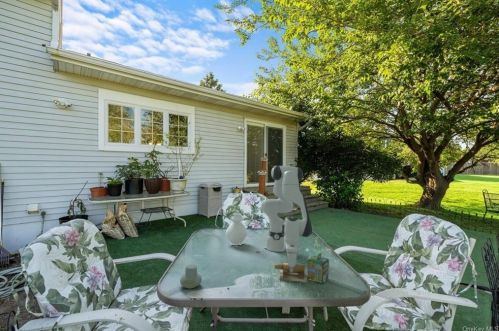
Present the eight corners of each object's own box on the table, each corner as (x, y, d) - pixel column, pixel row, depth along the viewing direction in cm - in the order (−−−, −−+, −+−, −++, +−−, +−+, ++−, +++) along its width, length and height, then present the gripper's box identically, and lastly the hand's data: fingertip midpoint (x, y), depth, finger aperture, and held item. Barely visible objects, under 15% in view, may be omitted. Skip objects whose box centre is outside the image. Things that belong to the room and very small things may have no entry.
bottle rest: (279, 272, 149) (280, 264, 149) (305, 274, 147) (305, 265, 147) (279, 280, 138) (279, 271, 138) (307, 282, 136) (307, 273, 136)
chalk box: (313, 274, 147) (314, 249, 147) (329, 279, 141) (329, 252, 142) (306, 279, 140) (307, 253, 140) (322, 284, 134) (322, 257, 134)
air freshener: (202, 282, 134) (203, 263, 134) (200, 289, 125) (200, 269, 126) (182, 282, 133) (182, 263, 133) (178, 289, 125) (178, 269, 125)
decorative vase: (247, 247, 196) (247, 215, 197) (224, 247, 196) (225, 215, 197) (247, 241, 214) (248, 212, 214) (227, 240, 214) (227, 211, 215)
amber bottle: (274, 263, 148) (274, 260, 144) (304, 266, 145) (304, 263, 142) (274, 271, 145) (274, 269, 141) (304, 275, 142) (304, 272, 138)
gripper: (286, 239, 154) (285, 262, 154) (286, 250, 134) (285, 275, 133) (296, 240, 153) (296, 262, 153) (298, 250, 133) (297, 276, 133)
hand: (291, 269), depth 143 cm, fingers closed on amber bottle, 5 cm apart
